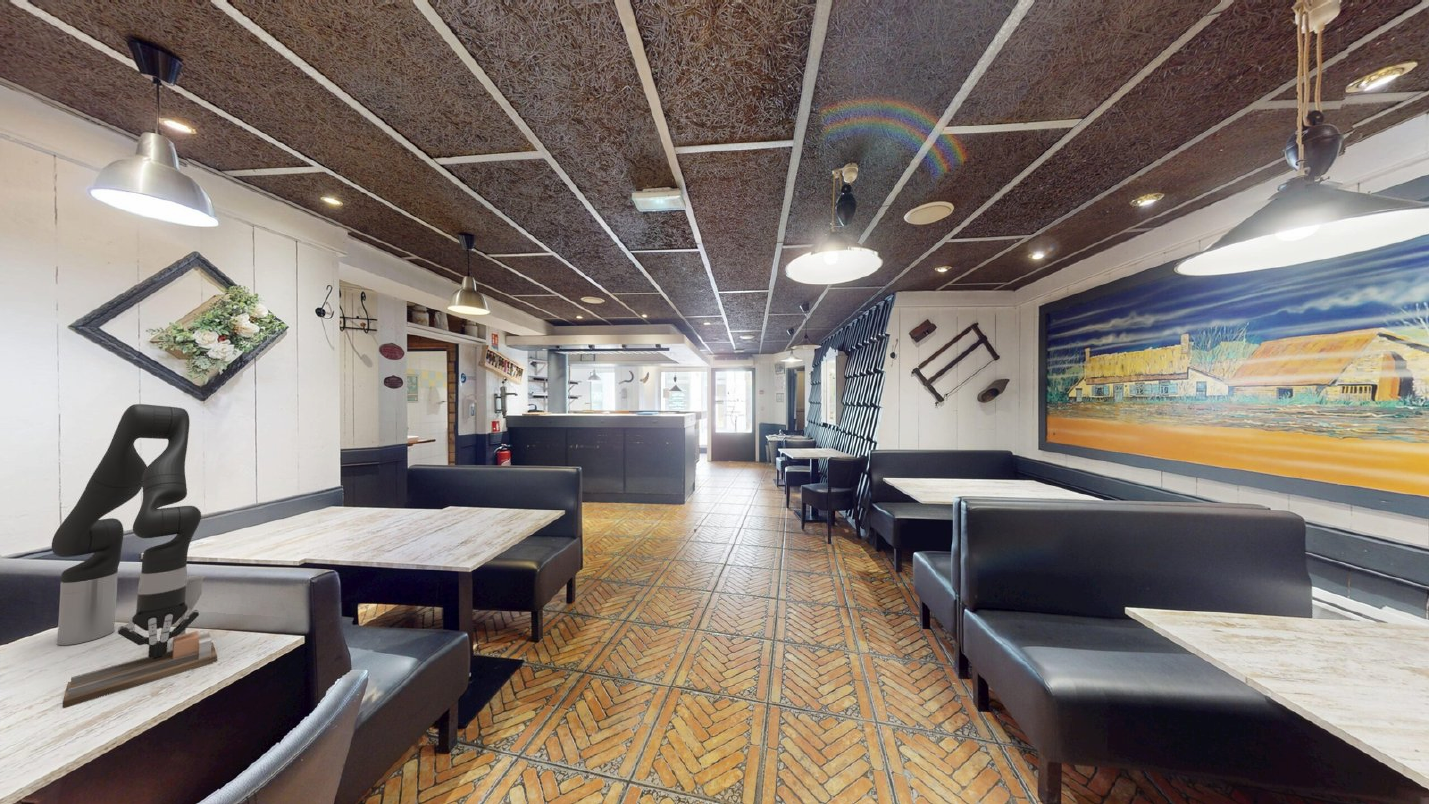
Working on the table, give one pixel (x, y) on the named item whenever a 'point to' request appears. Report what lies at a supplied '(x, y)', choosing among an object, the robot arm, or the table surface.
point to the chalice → (191, 597)
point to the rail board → (136, 673)
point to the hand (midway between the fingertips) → (157, 657)
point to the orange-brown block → (185, 644)
